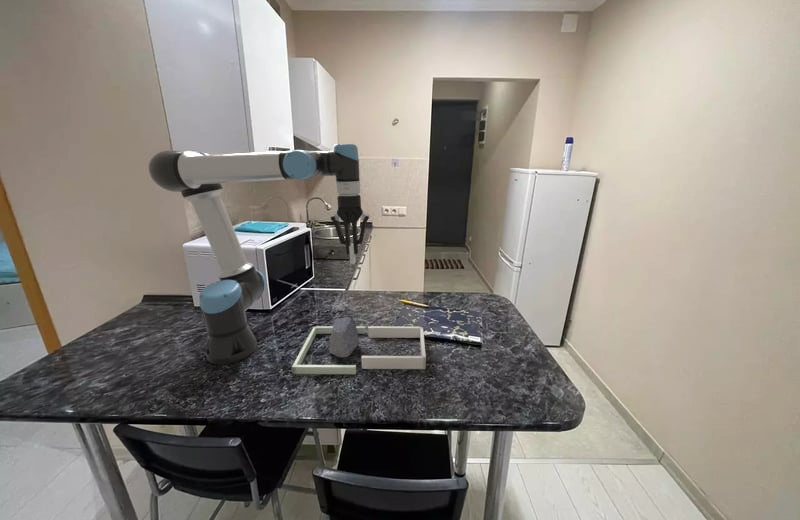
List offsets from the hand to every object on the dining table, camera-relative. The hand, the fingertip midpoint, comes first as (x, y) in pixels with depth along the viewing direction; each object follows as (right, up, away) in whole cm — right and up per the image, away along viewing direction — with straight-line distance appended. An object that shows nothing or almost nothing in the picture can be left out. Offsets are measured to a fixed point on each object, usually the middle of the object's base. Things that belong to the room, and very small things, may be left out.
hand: (353, 262), depth 107 cm
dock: (+15, -30, -5) cm, 33 cm away
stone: (-3, -30, -4) cm, 30 cm away
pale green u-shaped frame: (-6, -30, -5) cm, 30 cm away
